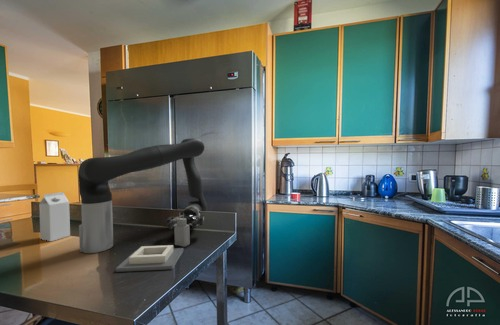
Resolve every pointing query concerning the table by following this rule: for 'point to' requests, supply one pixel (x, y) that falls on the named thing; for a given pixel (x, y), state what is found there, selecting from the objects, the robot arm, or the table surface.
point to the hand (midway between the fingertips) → (181, 225)
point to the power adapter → (182, 232)
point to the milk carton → (54, 217)
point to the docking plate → (151, 258)
